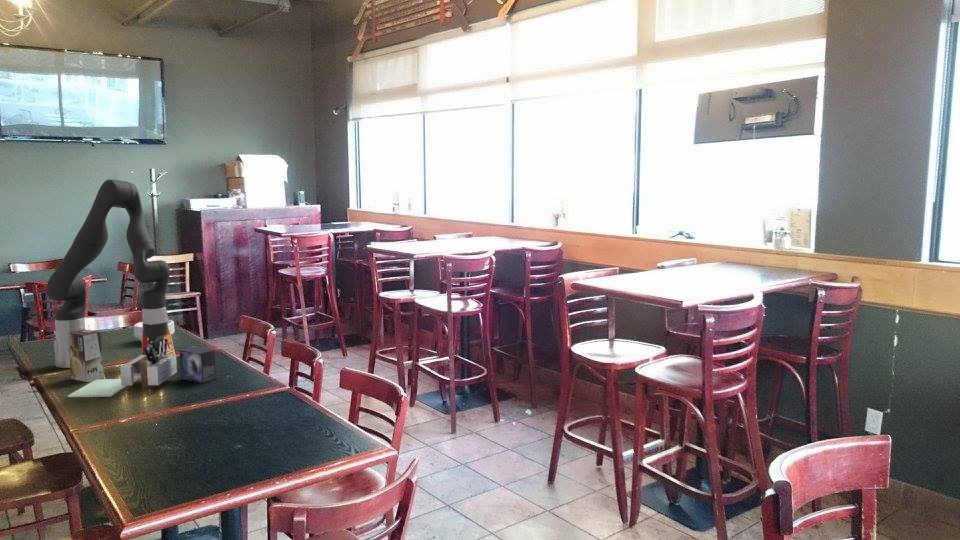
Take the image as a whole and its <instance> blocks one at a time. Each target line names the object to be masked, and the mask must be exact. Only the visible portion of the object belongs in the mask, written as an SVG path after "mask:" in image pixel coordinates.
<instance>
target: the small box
mask: <svg viewBox="0 0 960 540" xmlns="http://www.w3.org/2000/svg"><path fill="white" fill-rule="evenodd" d="M178 351H179V362H180V363H179V364H180V379H181V380H182V381H187V382H192V381H193V383H197V382H198V384H202V383H203V384H205V382H206V383H209V382H212V381H215V380H214V379H216V380H217V379H218V378H217V368H216V349H214V348H209V347H208V348H207V347H203V346H197V345H192V346H188V347H185V348H182V349H179V350H178ZM211 380H212V381H211ZM208 381H209V382H208Z"/></svg>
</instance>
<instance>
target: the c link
mask: <svg viewBox="0 0 960 540" xmlns="http://www.w3.org/2000/svg"><path fill="white" fill-rule="evenodd" d="M156 357H157V356H156ZM159 359H160V360H159V361H158V362H157V363H155V364H154V365H152V362H149V366H147V377H148V385H151V386H159V385H161V384H162V383H164V382H165V381H166V380H168V379H169V378H171V377H172V376H173V375H175V374H176V373H178V369H177V368H178V365H177V354H175V355H159ZM144 360H148V359H147V356H146V355H142V354H141V355H139V356H137V357H135V358H133V359H132V360H130V361H128V362H127V363H125V364H123V365H121V366H119V370H120V371H119V372H120V379H121V385H122V386H127V387H128V386H133V385H134V384H135V382H136V381H138V380H141V367H140V361H144Z"/></svg>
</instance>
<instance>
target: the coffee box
mask: <svg viewBox="0 0 960 540" xmlns="http://www.w3.org/2000/svg"><path fill="white" fill-rule="evenodd" d="M67 335H68V346H69V357H70V368H69V369H70V379H71V380H74V379H75V381H79V382H84V383H85V382H86V383H91V382H93V381H95V380H96V379H105V377H104V376H105V375H104V364H103V363H104V362H103V351H102V338H101V336H102V335H101V331H96V330H90V329H86V328H85V329H84V330H78V331H73V332H69V333H67Z"/></svg>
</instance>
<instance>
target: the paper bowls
mask: <svg viewBox="0 0 960 540" xmlns="http://www.w3.org/2000/svg"><path fill="white" fill-rule="evenodd" d="M167 320H168V327H169V330H170V334H171V335H173V334H174V333H175V322H174V321H173V320H172V319H167ZM142 329H143V321H139V322H137V323H135V324H134V325H133V333H134V334H133V335H134V337H135V338H136V339H137V338H138V339H139V340H140V342H141V343H142Z"/></svg>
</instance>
